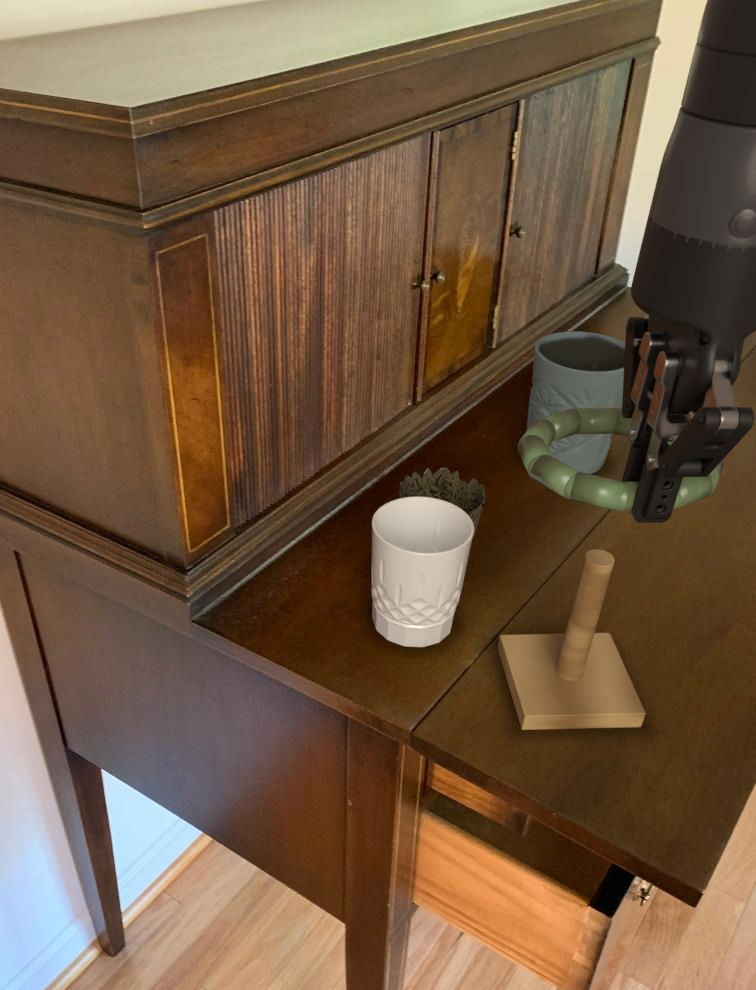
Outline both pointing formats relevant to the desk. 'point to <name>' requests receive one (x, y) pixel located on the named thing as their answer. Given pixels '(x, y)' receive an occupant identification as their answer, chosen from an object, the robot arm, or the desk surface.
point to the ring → (588, 485)
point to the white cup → (418, 568)
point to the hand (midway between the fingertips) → (642, 507)
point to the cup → (447, 491)
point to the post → (572, 666)
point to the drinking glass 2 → (577, 389)
